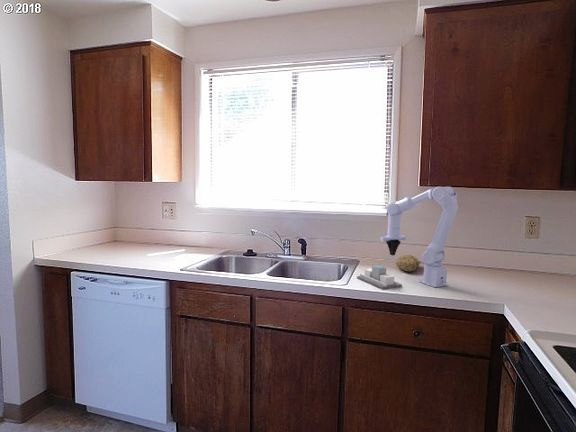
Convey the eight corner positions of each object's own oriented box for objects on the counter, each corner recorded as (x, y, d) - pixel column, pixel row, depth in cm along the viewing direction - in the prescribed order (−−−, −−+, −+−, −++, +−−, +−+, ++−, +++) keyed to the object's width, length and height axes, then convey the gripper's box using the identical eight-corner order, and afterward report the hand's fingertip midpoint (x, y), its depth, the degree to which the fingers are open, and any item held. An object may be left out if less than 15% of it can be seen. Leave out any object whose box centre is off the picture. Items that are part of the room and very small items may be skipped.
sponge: (402, 266, 205) (386, 264, 190) (406, 252, 204) (391, 250, 189) (424, 275, 196) (410, 274, 181) (429, 261, 196) (415, 259, 181)
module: (385, 281, 166) (386, 267, 165) (378, 282, 164) (379, 268, 164) (378, 278, 170) (379, 265, 170) (371, 279, 169) (372, 265, 168)
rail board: (401, 286, 162) (402, 276, 161) (381, 289, 157) (382, 279, 156) (375, 276, 178) (376, 266, 177) (356, 278, 173) (357, 268, 172)
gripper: (399, 226, 187) (398, 252, 189) (376, 227, 181) (375, 254, 183) (409, 227, 181) (408, 255, 182) (386, 229, 175) (384, 257, 176)
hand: (392, 254), depth 182 cm, fingers closed
